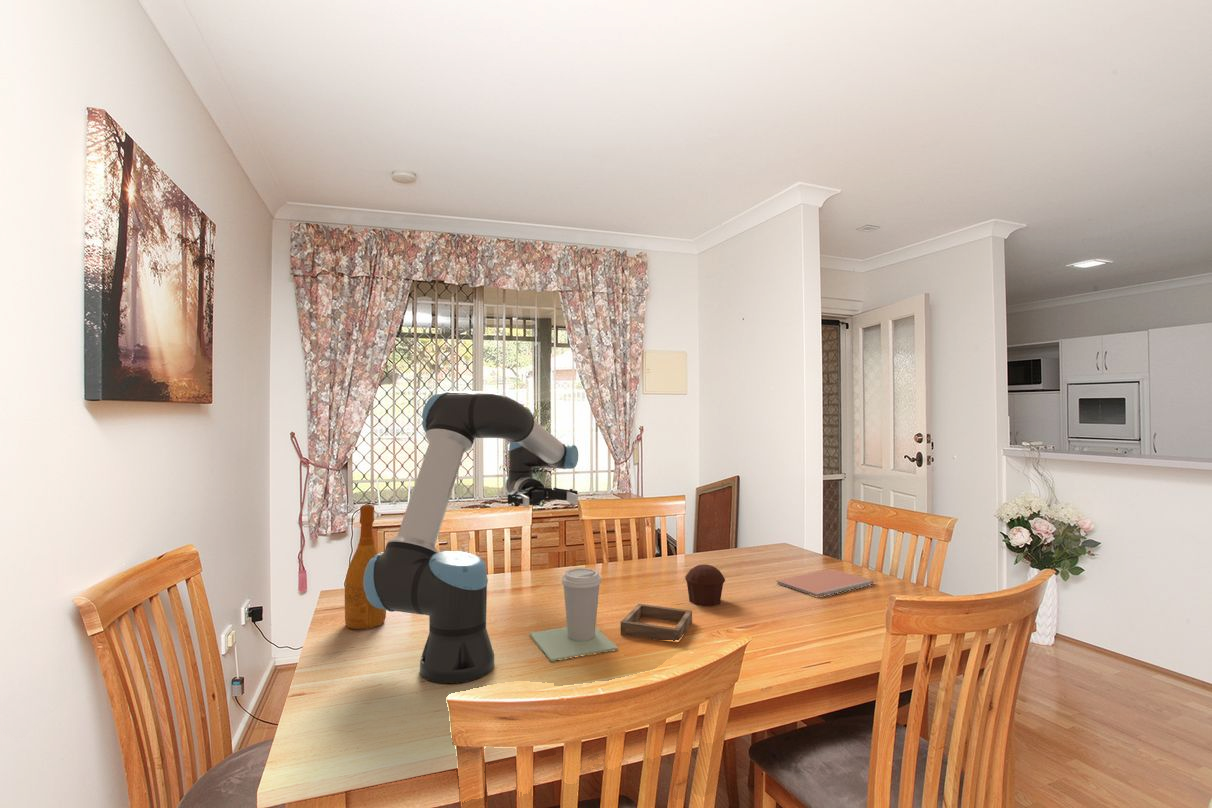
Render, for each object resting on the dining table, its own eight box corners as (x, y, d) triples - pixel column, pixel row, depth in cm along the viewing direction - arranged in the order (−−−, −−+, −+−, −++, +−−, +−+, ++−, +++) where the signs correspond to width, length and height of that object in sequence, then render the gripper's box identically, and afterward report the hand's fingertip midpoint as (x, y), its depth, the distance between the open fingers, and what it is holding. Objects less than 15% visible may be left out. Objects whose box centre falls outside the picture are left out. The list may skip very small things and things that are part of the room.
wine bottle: (393, 617, 150) (394, 502, 150) (374, 632, 140) (375, 508, 141) (357, 616, 151) (358, 501, 151) (336, 630, 141) (337, 507, 142)
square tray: (678, 643, 135) (678, 630, 135) (620, 634, 140) (620, 622, 140) (691, 622, 149) (692, 610, 149) (638, 614, 154) (638, 603, 154)
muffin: (694, 592, 173) (694, 559, 173) (730, 598, 168) (730, 564, 168) (678, 603, 163) (678, 568, 163) (716, 610, 157) (716, 574, 158)
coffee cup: (566, 646, 132) (566, 580, 132) (557, 630, 141) (557, 568, 141) (606, 641, 135) (606, 576, 135) (594, 625, 144) (595, 565, 144)
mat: (617, 650, 131) (617, 647, 131) (550, 662, 125) (550, 659, 125) (590, 625, 146) (590, 623, 146) (529, 635, 139) (529, 632, 139)
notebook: (820, 601, 168) (820, 594, 168) (775, 585, 182) (775, 579, 182) (877, 586, 182) (877, 580, 182) (831, 573, 196) (831, 567, 196)
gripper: (568, 500, 178) (595, 512, 159) (487, 505, 168) (506, 518, 149) (568, 476, 178) (595, 485, 159) (488, 479, 168) (506, 489, 149)
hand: (552, 501), depth 154 cm, fingers open, 13 cm apart
